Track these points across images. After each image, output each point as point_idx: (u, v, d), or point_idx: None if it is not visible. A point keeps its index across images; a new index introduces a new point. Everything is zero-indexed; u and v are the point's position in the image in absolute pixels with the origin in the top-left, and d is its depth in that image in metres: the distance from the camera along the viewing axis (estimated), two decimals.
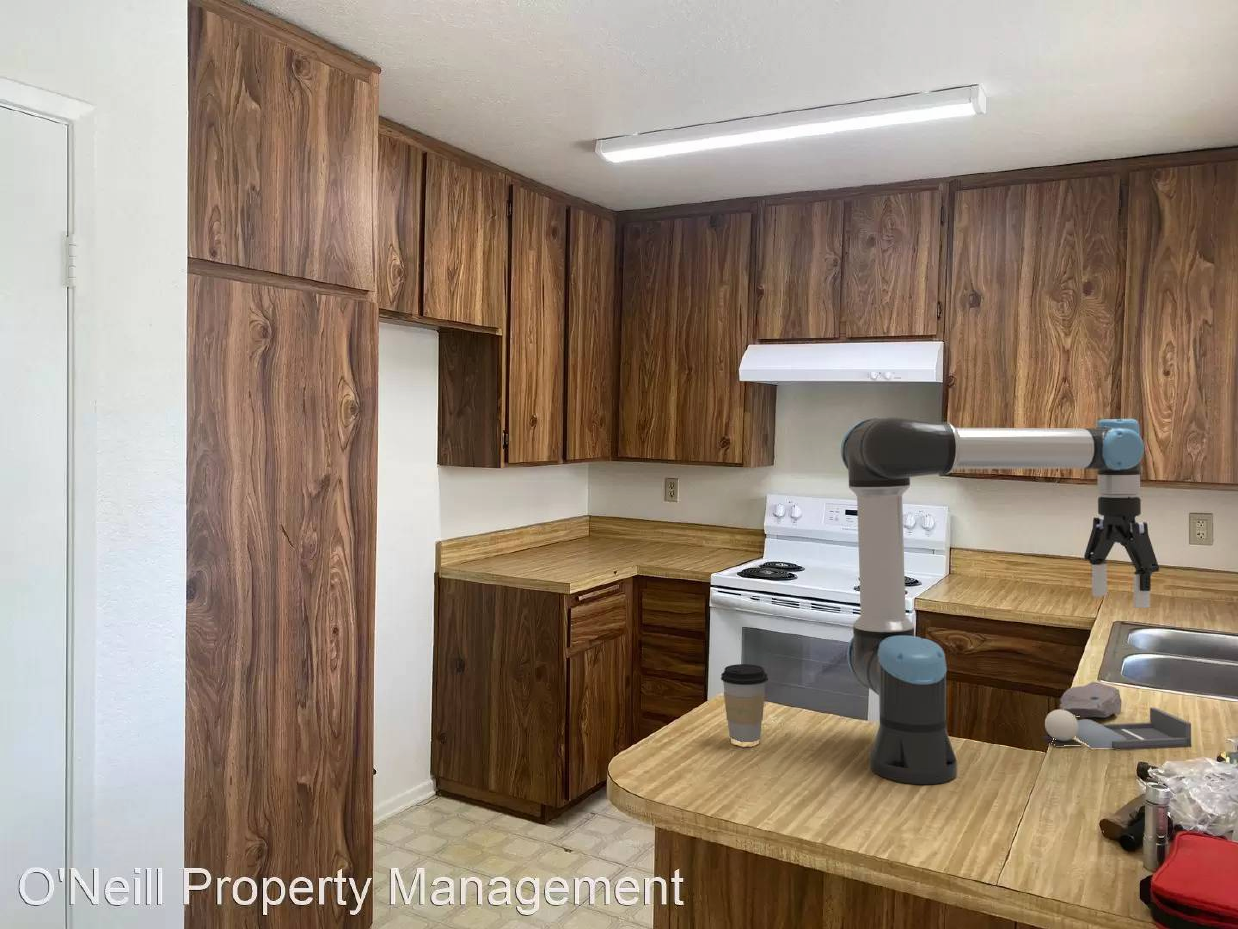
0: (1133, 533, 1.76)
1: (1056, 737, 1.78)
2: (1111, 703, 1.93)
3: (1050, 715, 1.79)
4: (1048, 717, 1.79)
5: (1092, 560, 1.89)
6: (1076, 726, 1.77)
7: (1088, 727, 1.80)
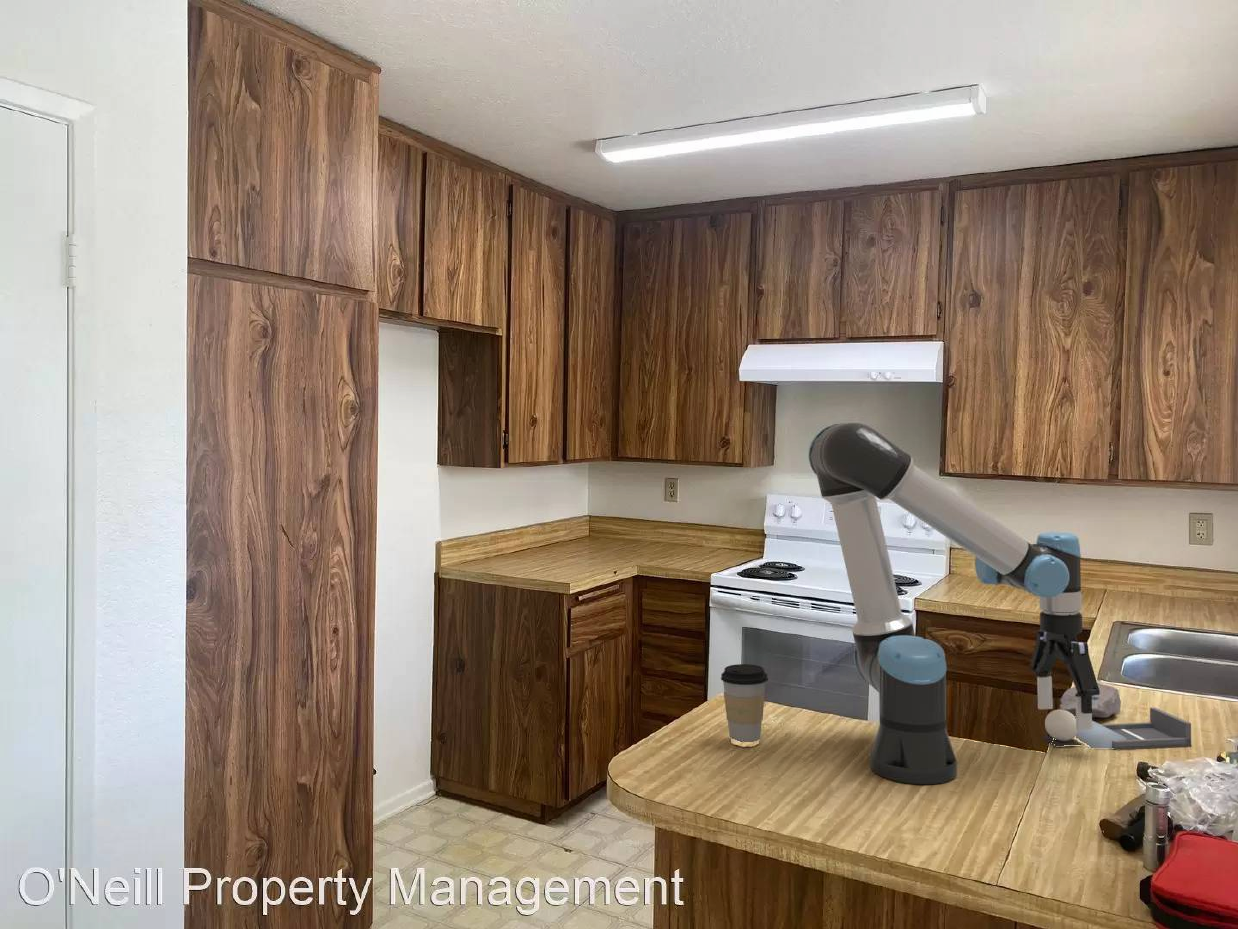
0: (1074, 653, 1.73)
1: (1056, 737, 1.78)
2: (1112, 703, 1.93)
3: (1050, 715, 1.79)
4: (1048, 717, 1.79)
5: (1037, 672, 1.86)
6: None
7: None
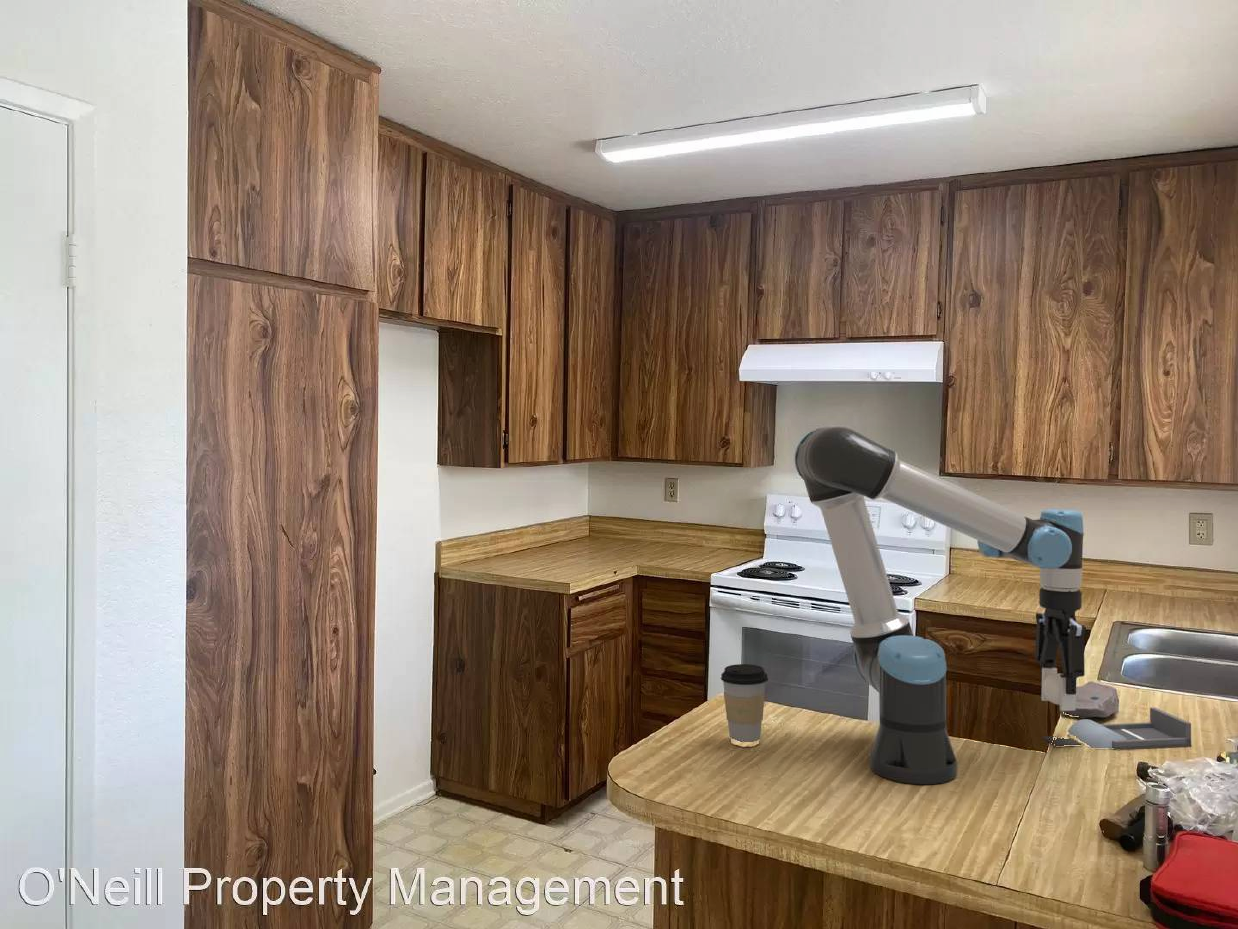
0: (1069, 634, 1.73)
1: (1053, 700, 1.78)
2: (1111, 702, 1.93)
3: (1048, 679, 1.79)
4: (1046, 681, 1.79)
5: (1042, 662, 1.83)
6: None
7: (1088, 727, 1.80)
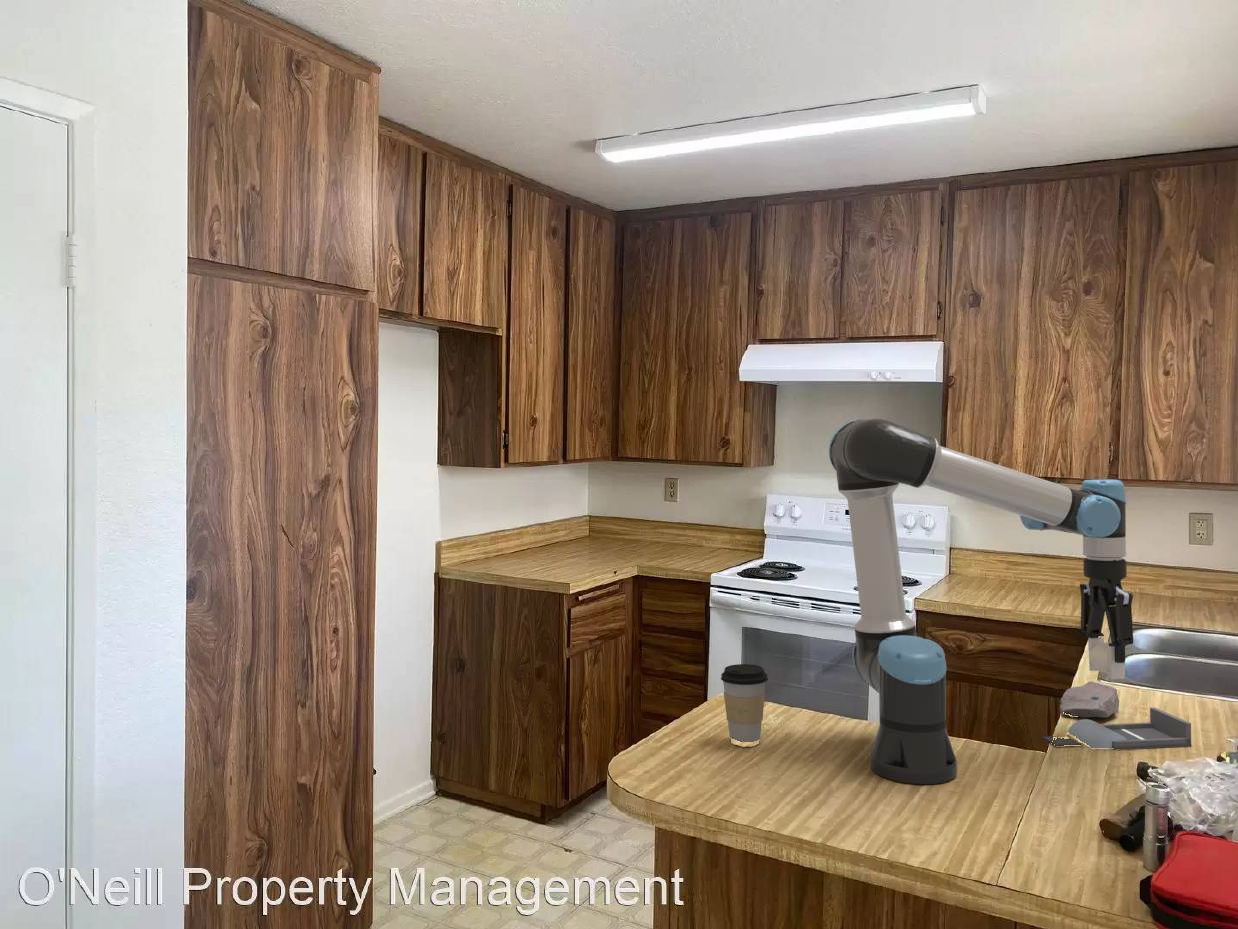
0: (1116, 603, 1.74)
1: (1102, 669, 1.78)
2: (1112, 702, 1.93)
3: (1095, 648, 1.80)
4: (1094, 650, 1.80)
5: (1088, 632, 1.83)
6: None
7: (1088, 727, 1.80)
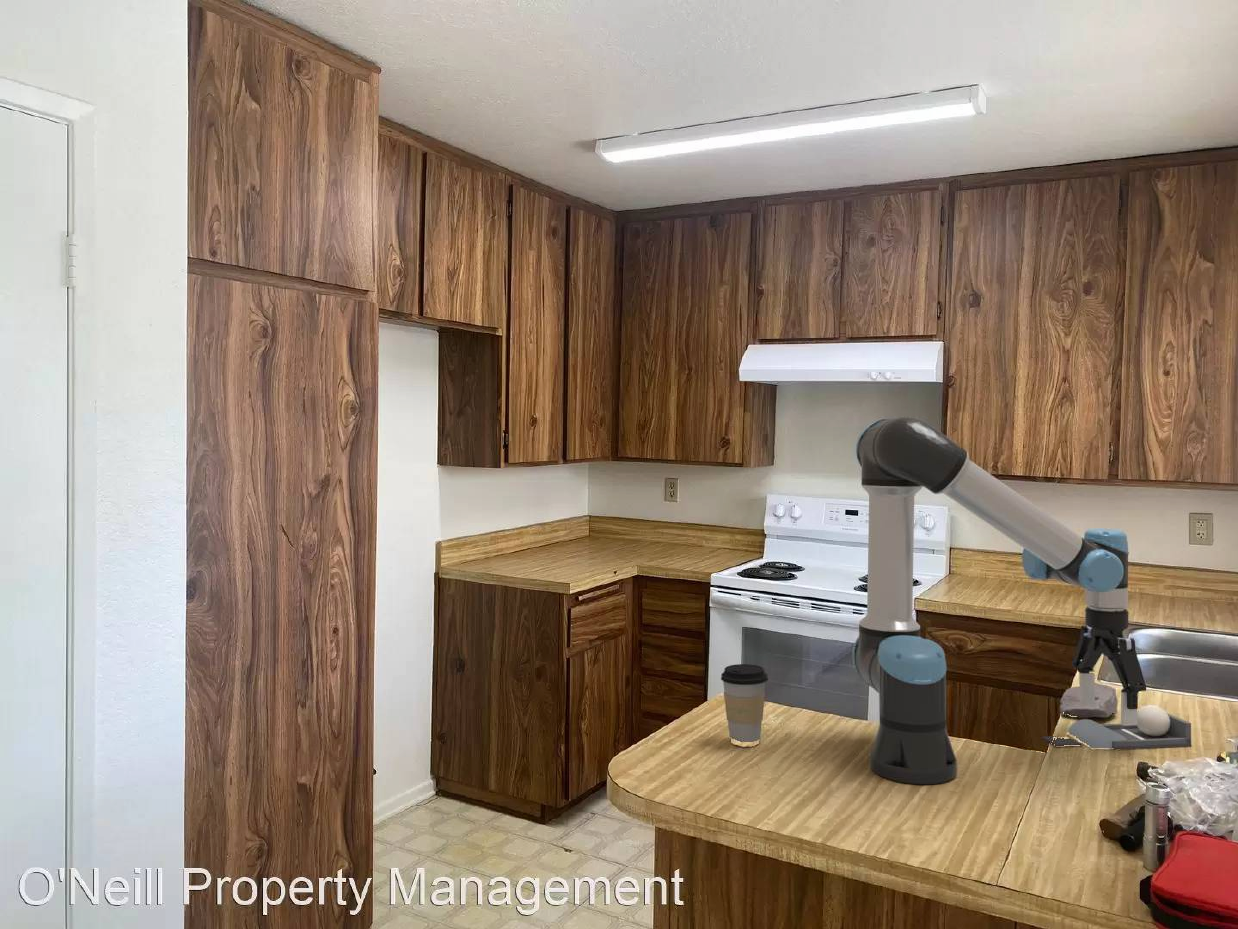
0: (1120, 649, 1.73)
1: (1167, 715, 1.79)
2: (1111, 702, 1.93)
3: None
4: None
5: (1080, 668, 1.87)
6: (1153, 725, 1.78)
7: (1088, 727, 1.80)
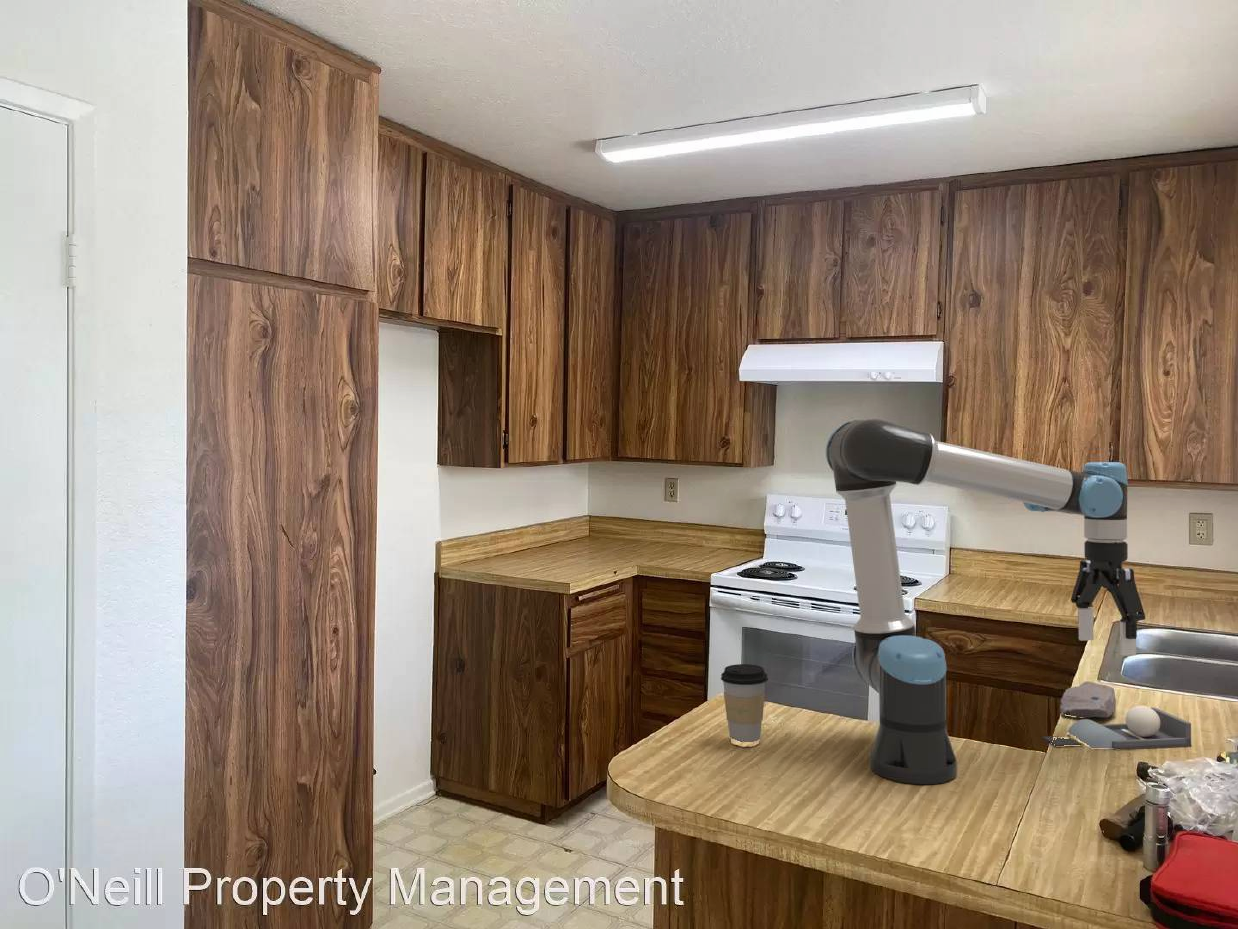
0: (1119, 580, 1.73)
1: (1151, 710, 1.79)
2: (1111, 702, 1.94)
3: None
4: None
5: (1079, 604, 1.87)
6: (1145, 730, 1.78)
7: (1088, 727, 1.80)
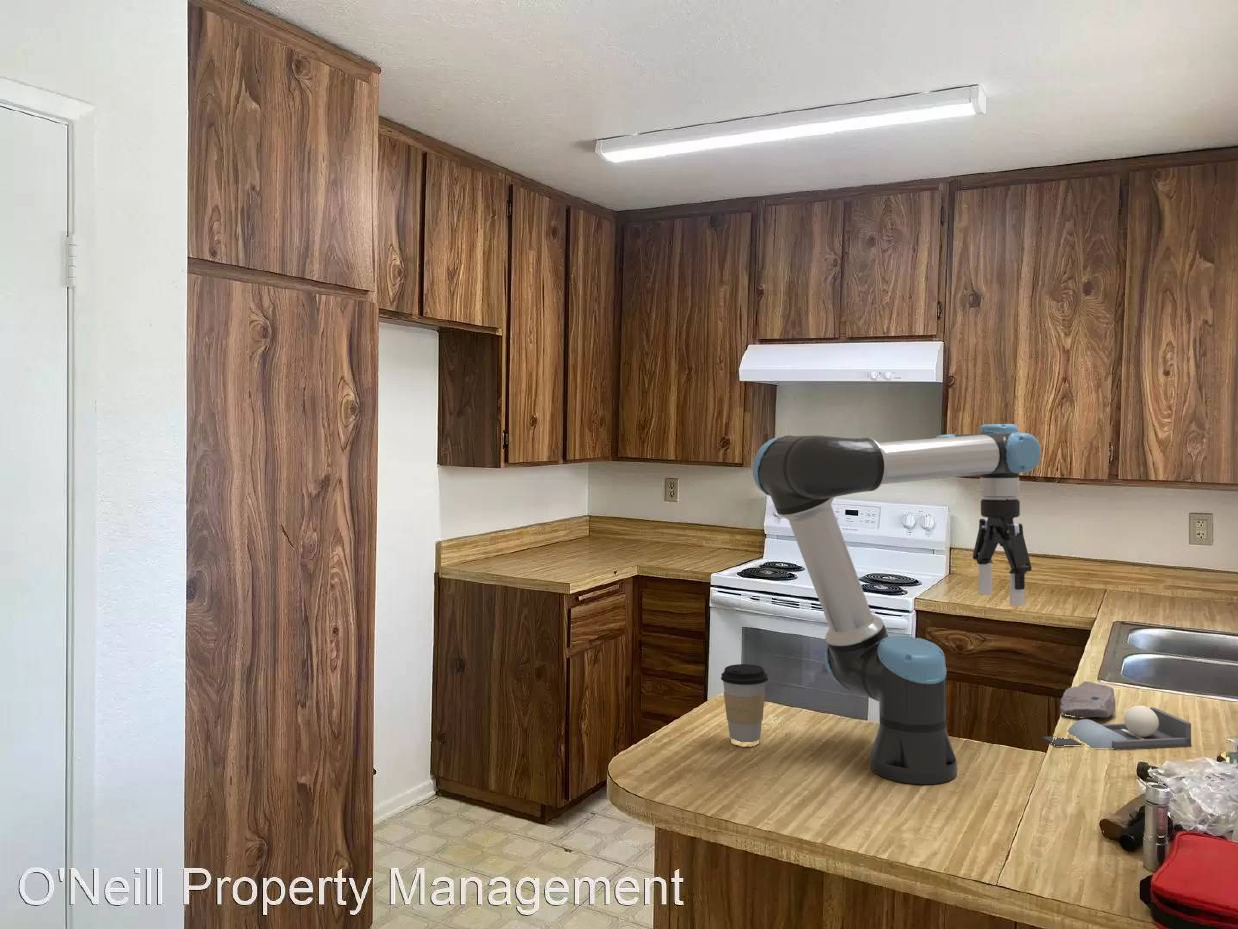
0: (1009, 534, 1.83)
1: (1148, 710, 1.79)
2: (1111, 702, 1.94)
3: None
4: None
5: (978, 560, 1.97)
6: (1144, 731, 1.78)
7: (1088, 727, 1.80)
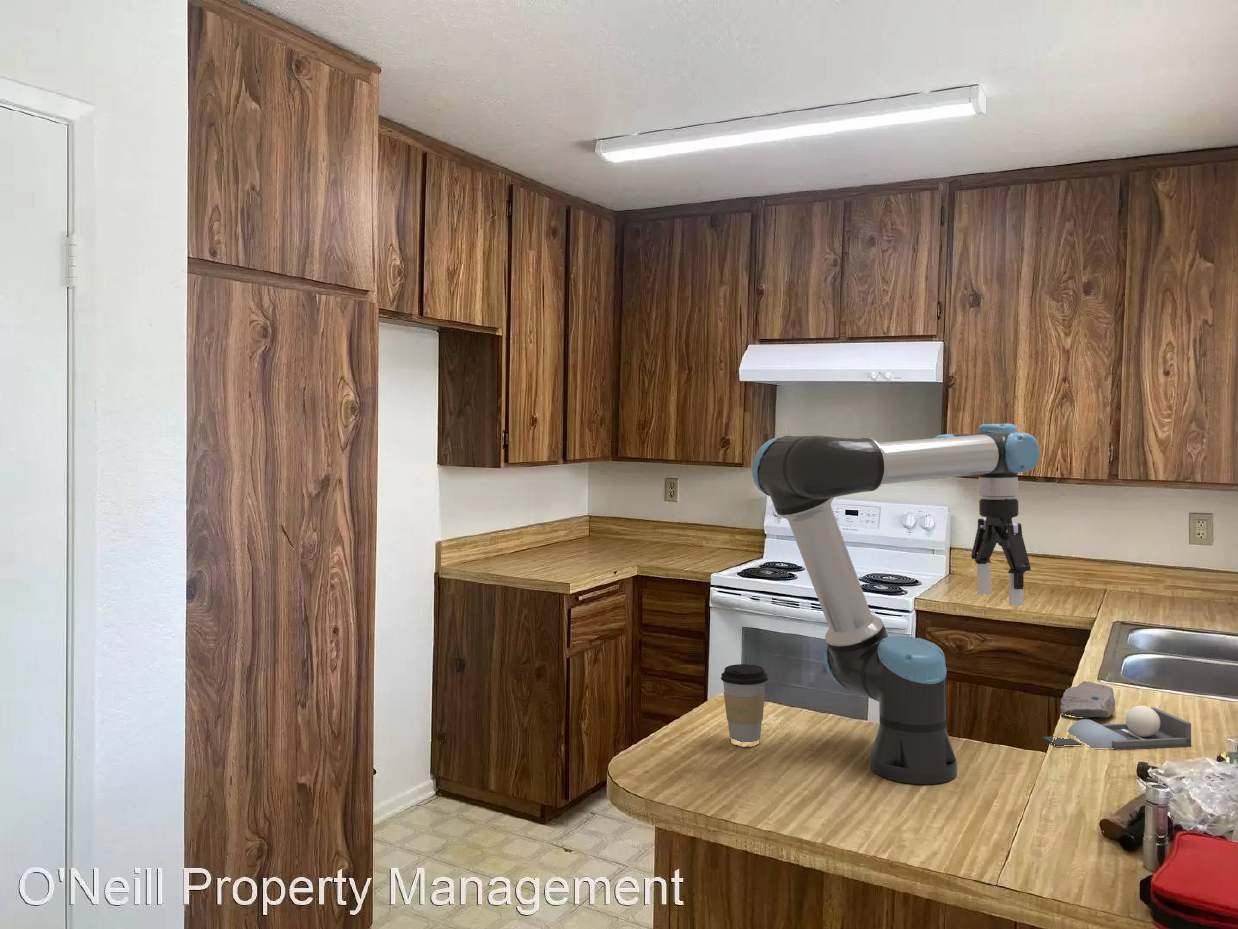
0: (1008, 533, 1.83)
1: (1151, 710, 1.79)
2: (1111, 702, 1.94)
3: None
4: None
5: (977, 559, 1.97)
6: (1145, 730, 1.78)
7: (1088, 727, 1.80)
